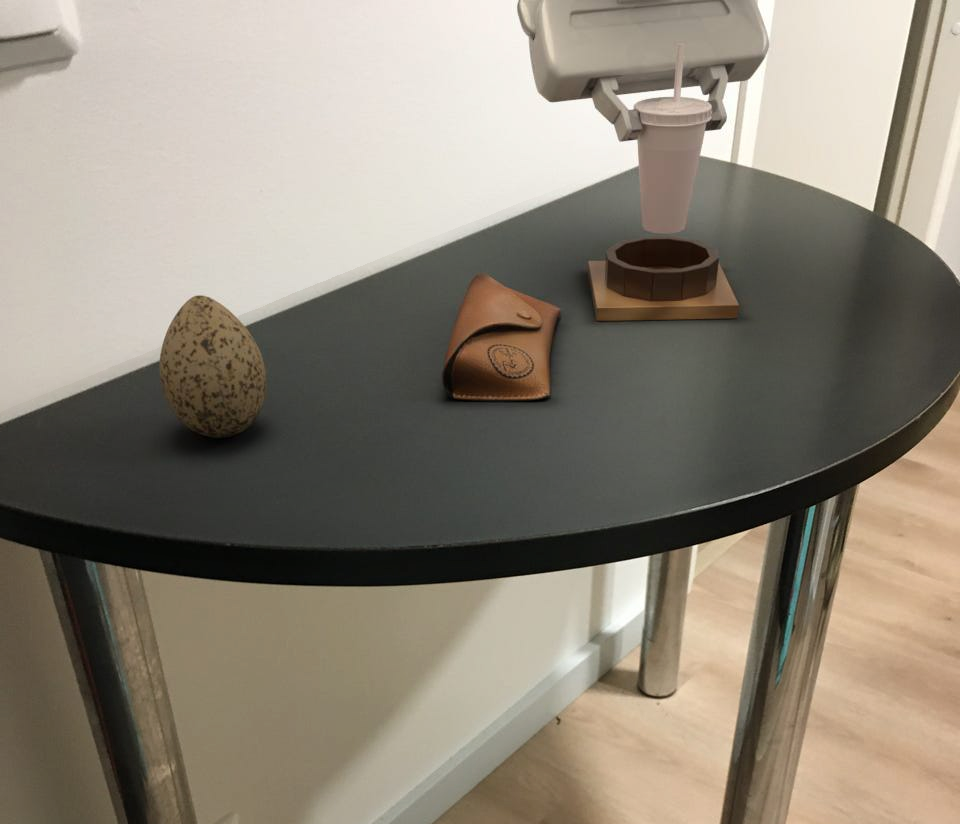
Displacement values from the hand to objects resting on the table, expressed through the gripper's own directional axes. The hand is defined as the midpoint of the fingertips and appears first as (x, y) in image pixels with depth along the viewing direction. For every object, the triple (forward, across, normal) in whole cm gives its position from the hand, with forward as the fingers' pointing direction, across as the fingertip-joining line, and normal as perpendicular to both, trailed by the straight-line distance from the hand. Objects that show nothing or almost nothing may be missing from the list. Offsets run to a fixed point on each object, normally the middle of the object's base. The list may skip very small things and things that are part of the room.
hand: (674, 131), depth 90 cm
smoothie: (+5, 0, +6) cm, 8 cm away
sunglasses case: (+14, -18, +6) cm, 23 cm away
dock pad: (+9, 0, +10) cm, 14 cm away
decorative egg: (+18, -41, +2) cm, 45 cm away
